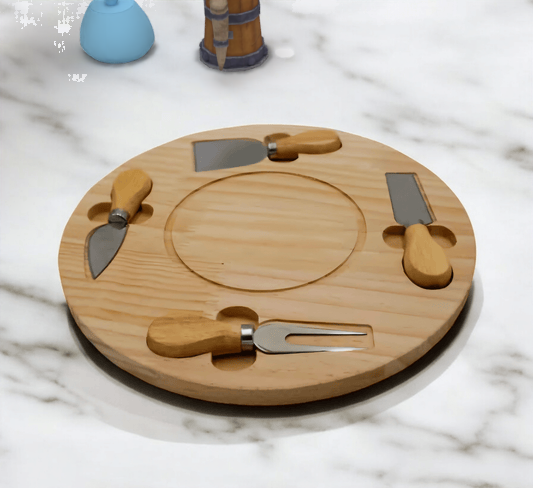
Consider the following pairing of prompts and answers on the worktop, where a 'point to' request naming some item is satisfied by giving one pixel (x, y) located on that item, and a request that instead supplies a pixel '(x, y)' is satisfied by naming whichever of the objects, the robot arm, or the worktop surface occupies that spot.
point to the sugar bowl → (116, 31)
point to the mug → (232, 35)
